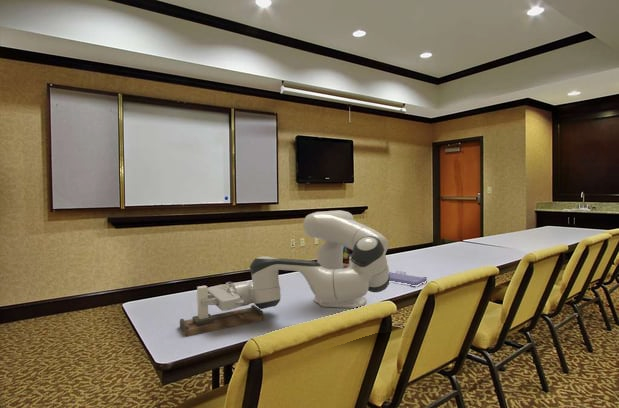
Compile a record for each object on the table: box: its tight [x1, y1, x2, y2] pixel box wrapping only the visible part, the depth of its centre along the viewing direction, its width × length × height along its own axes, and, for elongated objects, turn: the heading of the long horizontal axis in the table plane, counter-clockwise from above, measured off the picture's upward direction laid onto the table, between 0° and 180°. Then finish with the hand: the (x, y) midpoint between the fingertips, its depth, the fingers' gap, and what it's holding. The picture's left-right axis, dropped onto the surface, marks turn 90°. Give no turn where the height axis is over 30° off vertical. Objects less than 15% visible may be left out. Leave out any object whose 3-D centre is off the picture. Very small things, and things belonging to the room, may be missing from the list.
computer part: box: [389, 270, 428, 285], centre depth 189 cm, size 30×4×15 cm
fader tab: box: [191, 285, 214, 325], centre depth 127 cm, size 6×6×12 cm
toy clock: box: [343, 246, 353, 268], centre depth 210 cm, size 20×6×20 cm, turn 70°
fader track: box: [179, 304, 264, 337], centre depth 131 cm, size 28×10×3 cm, turn 121°
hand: (200, 301), depth 126 cm, fingers closed on fader tab, 2 cm apart
